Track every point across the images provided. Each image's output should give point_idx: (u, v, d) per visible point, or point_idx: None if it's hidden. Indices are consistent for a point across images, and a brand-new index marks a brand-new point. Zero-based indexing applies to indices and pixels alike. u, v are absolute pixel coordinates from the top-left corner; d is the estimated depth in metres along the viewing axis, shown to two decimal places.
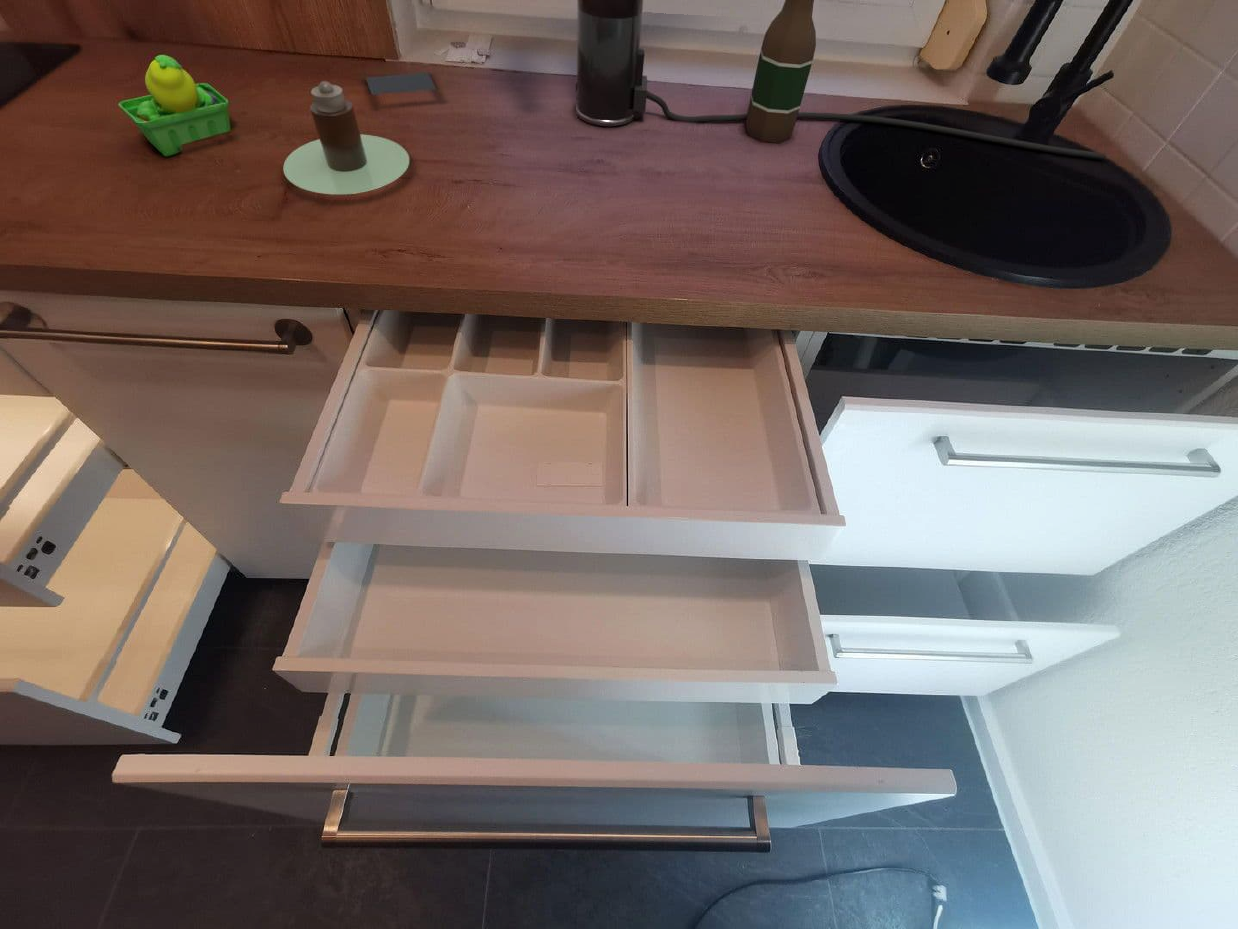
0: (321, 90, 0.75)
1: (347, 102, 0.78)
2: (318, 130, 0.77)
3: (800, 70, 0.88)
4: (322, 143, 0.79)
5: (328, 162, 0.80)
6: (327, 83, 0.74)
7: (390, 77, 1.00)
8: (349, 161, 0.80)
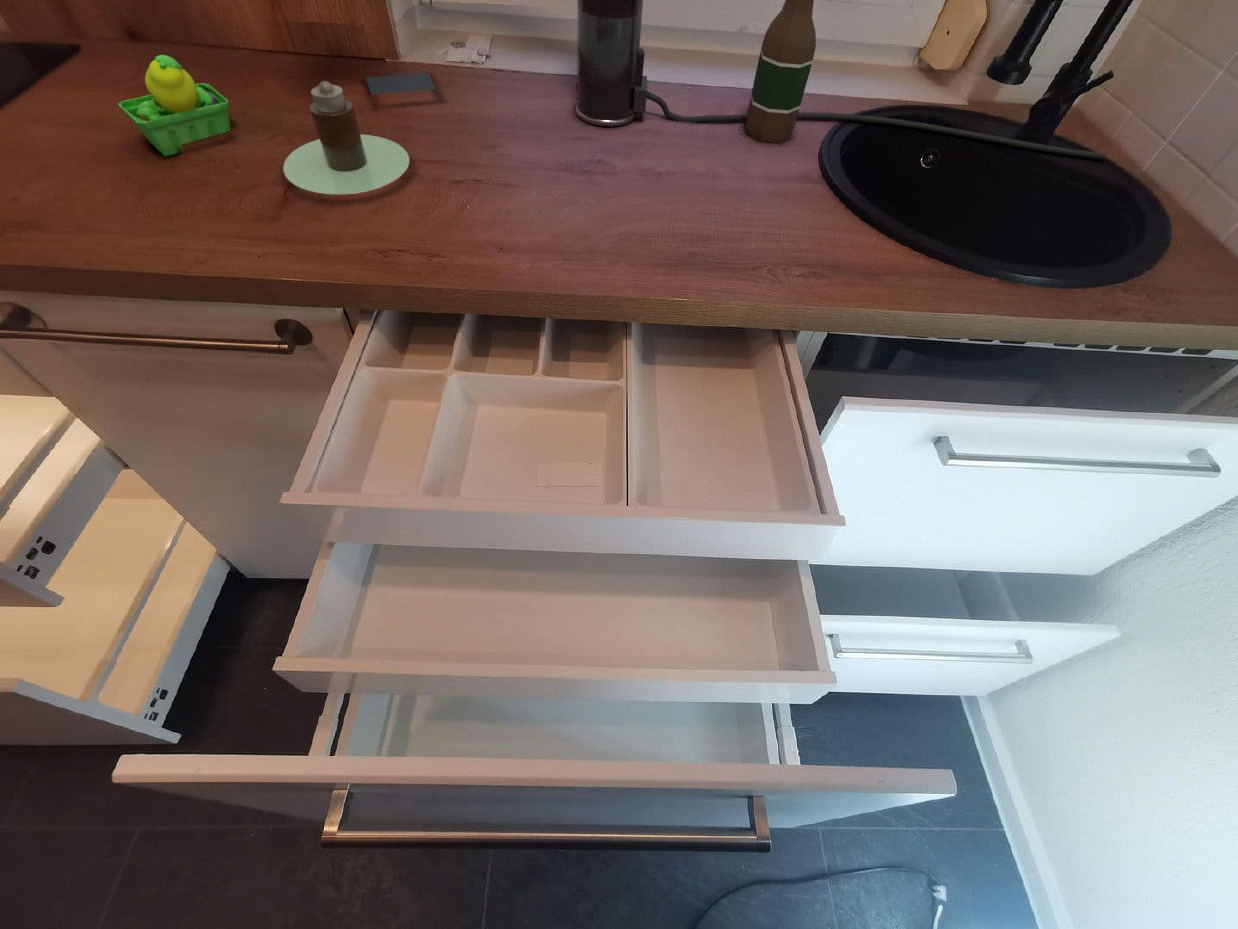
0: (321, 90, 0.75)
1: (347, 102, 0.78)
2: (318, 130, 0.77)
3: (800, 70, 0.88)
4: (322, 143, 0.79)
5: (328, 162, 0.80)
6: (327, 83, 0.74)
7: (390, 77, 1.00)
8: (349, 161, 0.80)
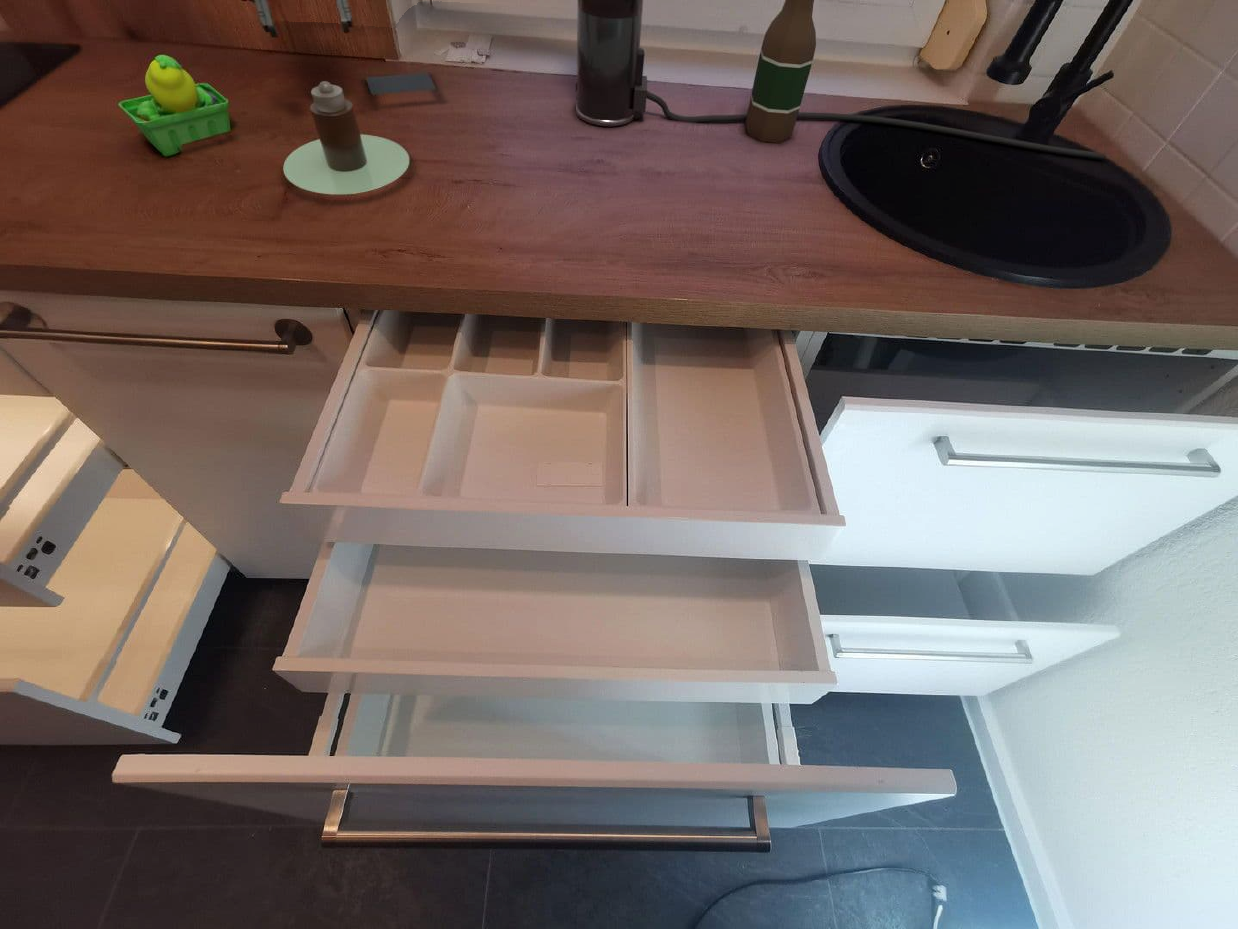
0: (321, 90, 0.75)
1: (347, 102, 0.78)
2: (318, 130, 0.77)
3: (800, 70, 0.88)
4: (322, 143, 0.79)
5: (328, 162, 0.80)
6: (327, 83, 0.74)
7: (390, 77, 1.00)
8: (349, 161, 0.80)
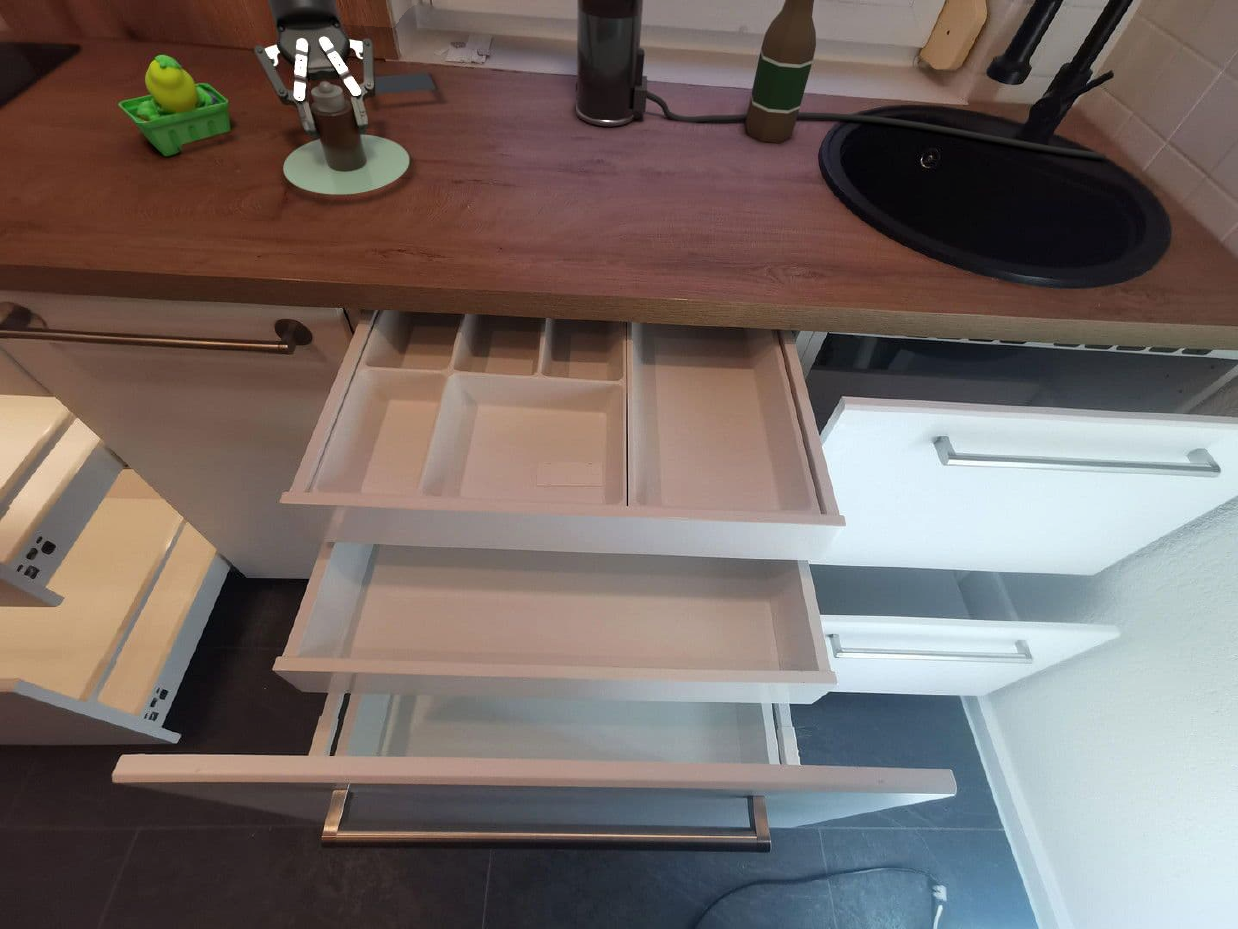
0: (321, 90, 0.75)
1: (347, 102, 0.78)
2: (318, 130, 0.77)
3: (800, 70, 0.88)
4: (322, 143, 0.79)
5: (328, 162, 0.80)
6: (327, 83, 0.74)
7: (390, 77, 1.00)
8: (349, 161, 0.80)
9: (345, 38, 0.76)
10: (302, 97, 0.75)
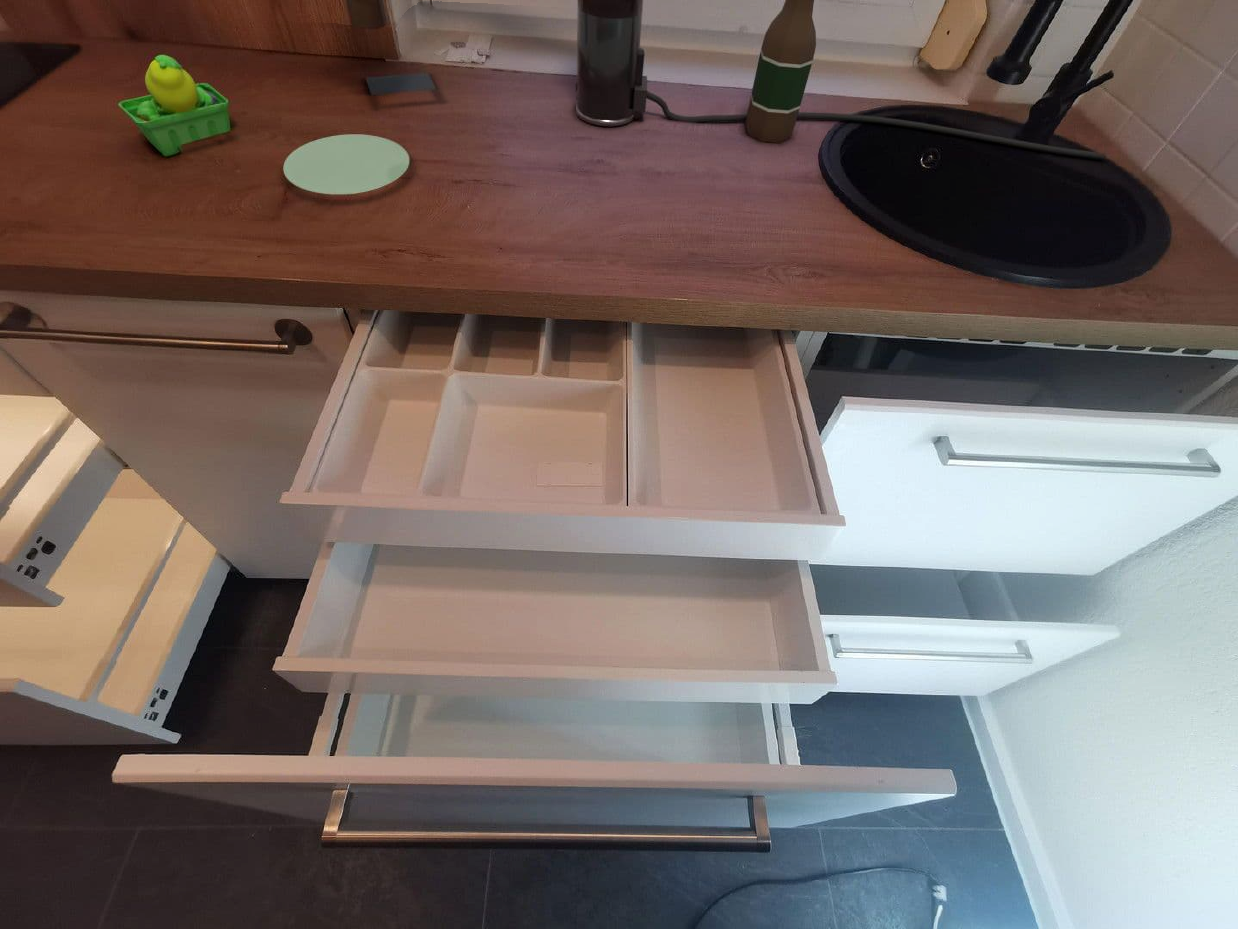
0: None
1: None
2: None
3: (800, 70, 0.88)
4: None
5: (351, 20, 0.83)
6: None
7: (390, 77, 1.00)
8: (372, 18, 0.83)
9: None
10: None
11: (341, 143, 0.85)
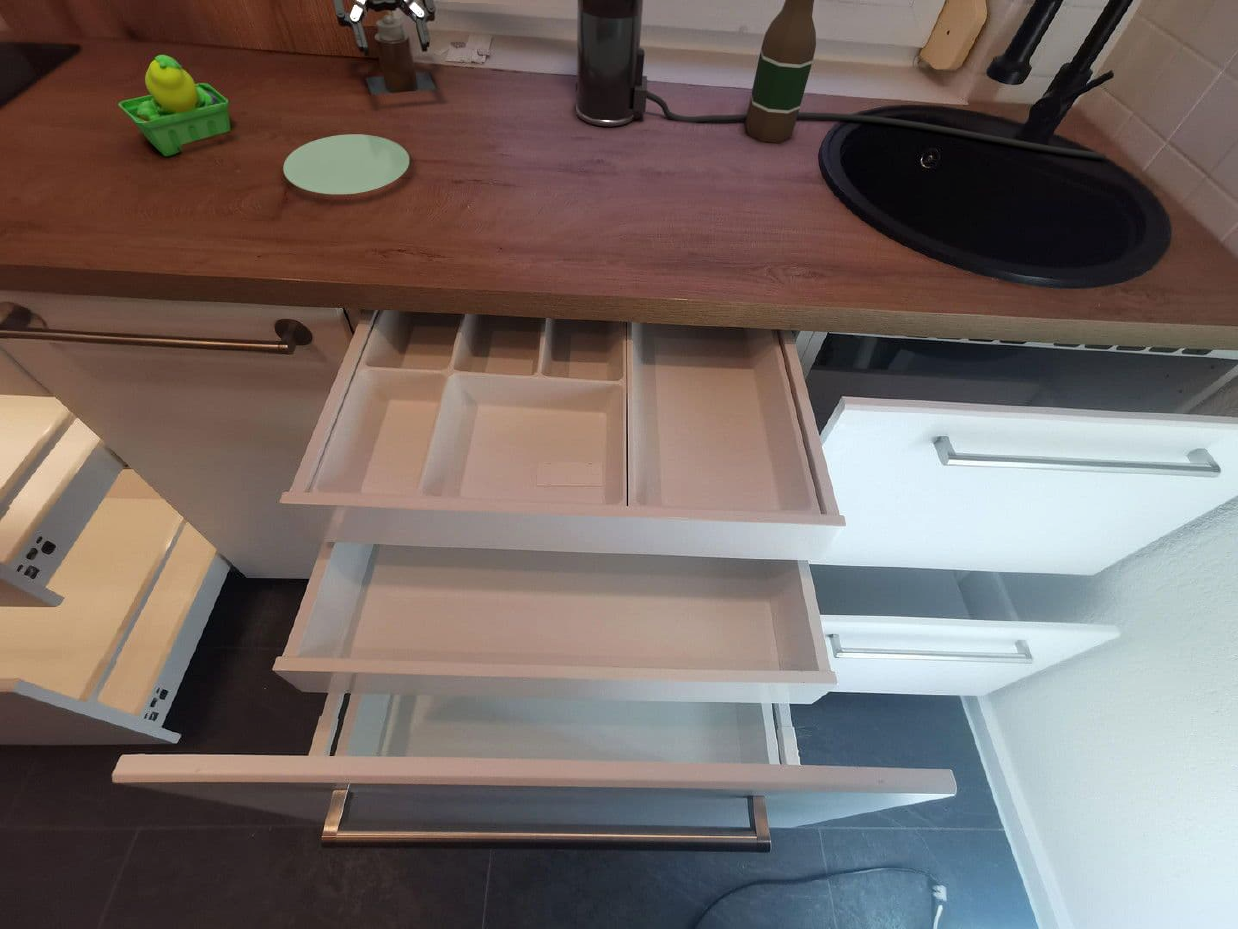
0: (385, 21, 0.91)
1: (404, 33, 0.94)
2: (380, 56, 0.93)
3: (800, 70, 0.88)
4: (383, 68, 0.95)
5: (387, 85, 0.97)
6: (390, 15, 0.91)
7: None
8: (404, 85, 0.96)
9: None
10: (356, 19, 0.90)
11: (341, 143, 0.85)
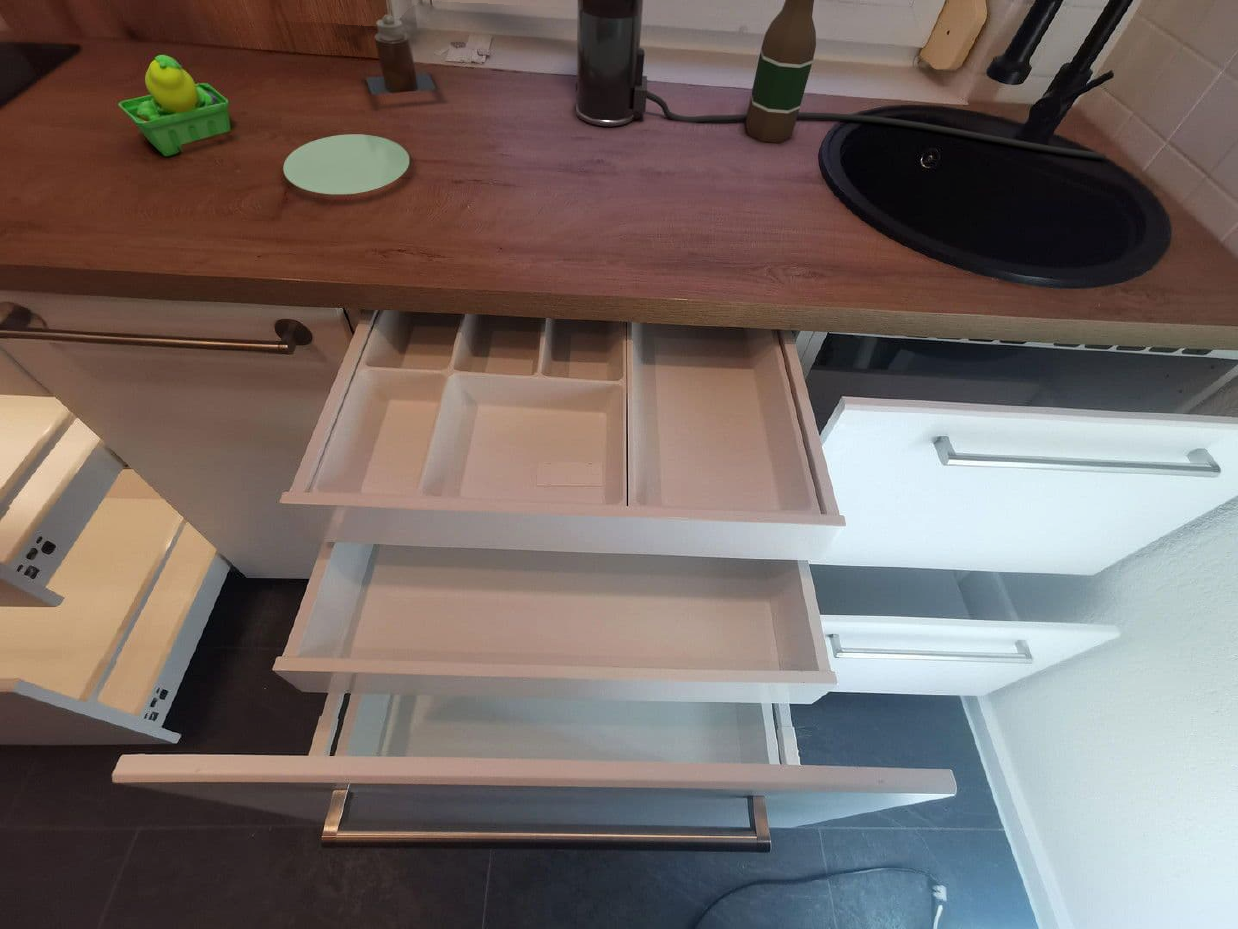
0: (385, 21, 0.91)
1: (404, 33, 0.94)
2: (380, 56, 0.93)
3: (800, 70, 0.88)
4: (383, 68, 0.95)
5: (387, 85, 0.97)
6: (390, 15, 0.91)
7: None
8: (404, 85, 0.96)
9: None
10: None
11: (341, 143, 0.85)
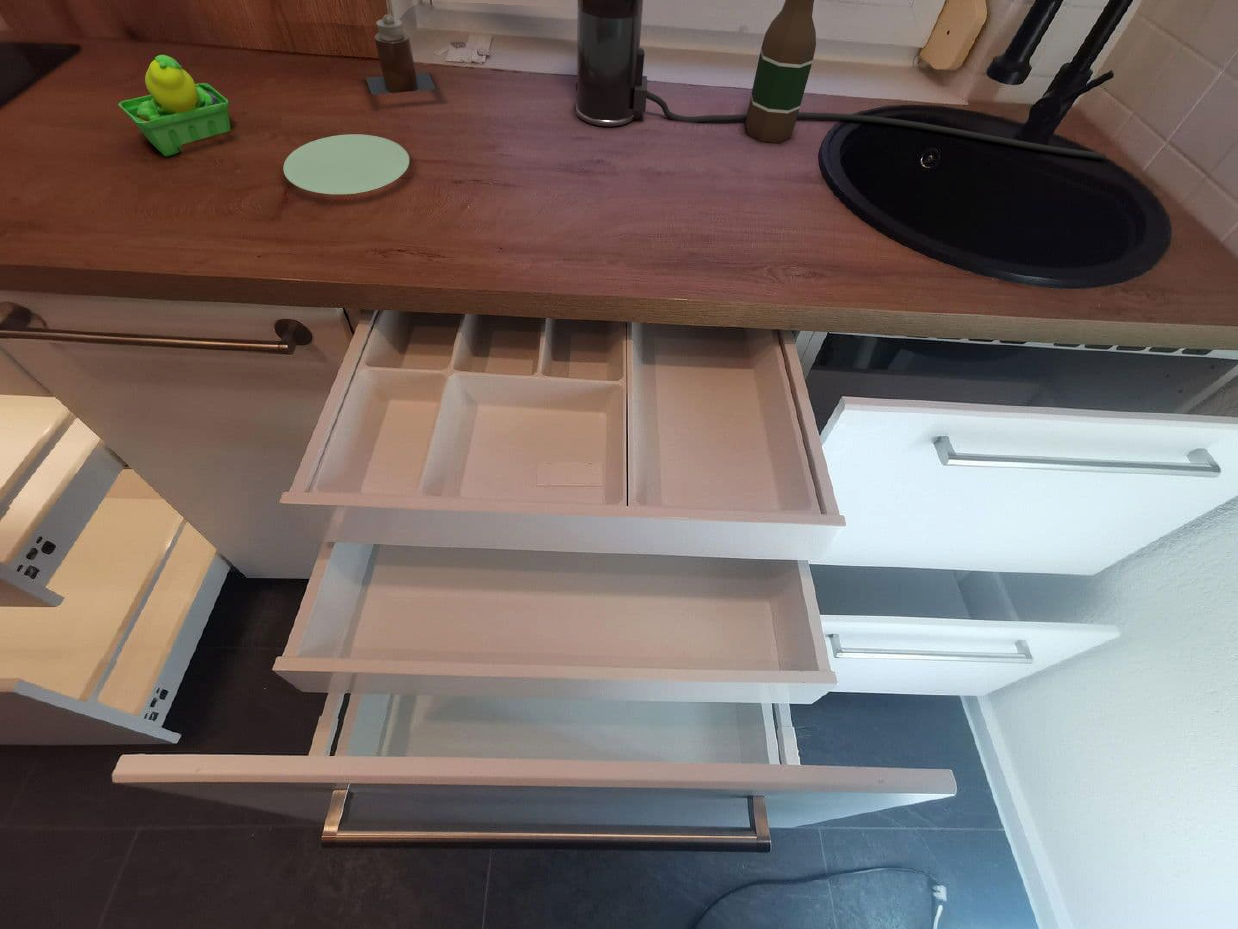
0: (385, 21, 0.91)
1: (404, 33, 0.94)
2: (380, 56, 0.93)
3: (800, 70, 0.88)
4: (383, 68, 0.95)
5: (387, 85, 0.97)
6: (390, 15, 0.91)
7: None
8: (404, 85, 0.96)
9: None
10: None
11: (341, 143, 0.85)
